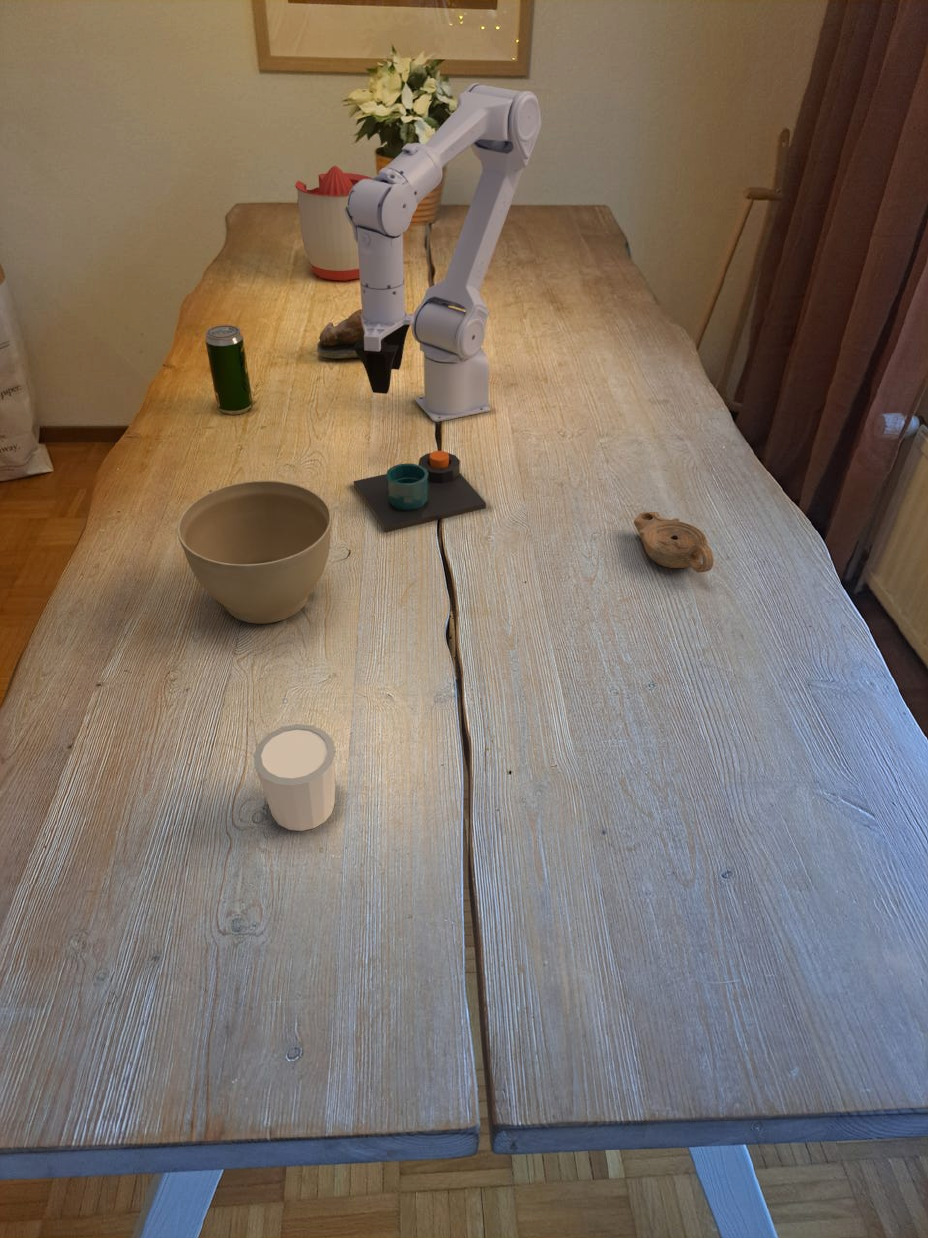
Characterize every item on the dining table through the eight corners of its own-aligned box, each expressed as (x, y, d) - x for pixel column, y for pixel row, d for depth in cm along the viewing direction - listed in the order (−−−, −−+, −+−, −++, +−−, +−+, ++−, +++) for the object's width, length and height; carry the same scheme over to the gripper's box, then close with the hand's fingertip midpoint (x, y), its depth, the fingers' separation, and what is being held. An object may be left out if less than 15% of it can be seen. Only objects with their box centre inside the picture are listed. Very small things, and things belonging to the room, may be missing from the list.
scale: (449, 464, 127) (449, 448, 125) (487, 508, 119) (488, 491, 117) (353, 485, 122) (351, 469, 121) (385, 533, 114) (384, 516, 112)
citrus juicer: (333, 252, 195) (325, 150, 182) (396, 269, 187) (392, 163, 174) (281, 272, 185) (269, 165, 172) (345, 291, 177) (337, 181, 164)
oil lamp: (617, 536, 114) (622, 502, 111) (667, 523, 116) (674, 490, 113) (675, 596, 105) (682, 561, 102) (729, 581, 107) (738, 546, 104)
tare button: (444, 457, 124) (444, 449, 123) (451, 466, 122) (451, 457, 122) (426, 461, 123) (426, 452, 122) (434, 470, 122) (434, 461, 121)
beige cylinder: (267, 777, 83) (257, 725, 79) (342, 773, 84) (336, 721, 79) (260, 839, 78) (249, 786, 74) (340, 834, 79) (334, 782, 74)
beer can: (225, 418, 137) (212, 341, 129) (212, 404, 140) (198, 329, 132) (258, 409, 139) (247, 333, 131) (244, 396, 142) (233, 321, 135)
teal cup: (380, 496, 119) (378, 470, 116) (416, 485, 121) (415, 459, 118) (399, 516, 115) (398, 489, 113) (436, 504, 117) (435, 477, 115)
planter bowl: (218, 663, 95) (200, 581, 88) (179, 579, 106) (161, 500, 99) (360, 619, 101) (354, 538, 94) (310, 544, 112) (301, 467, 105)
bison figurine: (318, 365, 151) (312, 305, 145) (317, 348, 157) (312, 289, 150) (390, 362, 153) (387, 303, 146) (387, 345, 158) (384, 287, 151)
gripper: (401, 304, 111) (404, 405, 120) (423, 264, 122) (424, 360, 131) (345, 300, 112) (352, 401, 121) (372, 261, 123) (376, 356, 132)
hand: (386, 379), depth 126 cm, fingers open, 7 cm apart
